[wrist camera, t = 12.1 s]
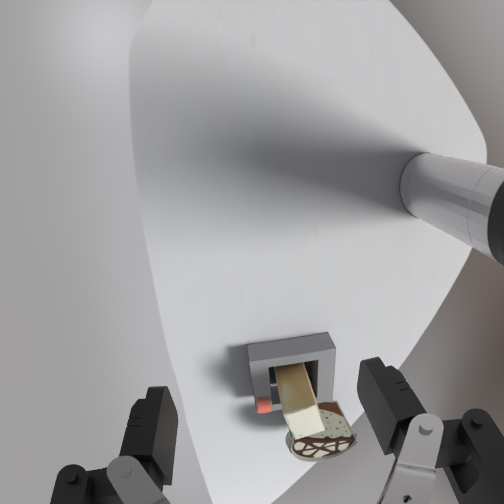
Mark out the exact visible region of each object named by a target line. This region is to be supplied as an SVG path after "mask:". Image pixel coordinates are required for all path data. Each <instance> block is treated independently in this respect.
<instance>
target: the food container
mask: <svg viewBox="0 0 504 504" xmlns="http://www.w3.org/2000/svg"><path fill="white" fill-rule="evenodd" d="M317 405H318V408H319V411H320V414H321V417H322V420H323V424H324V428H325V430H324V431H322V432H319V433H316V434H313V435H310V436H306V437H303V438H300V439H296V440H295V438H294V436H293V434H292V432H291V430H290V428H289V432H288V433H287V435H286V444H287V446H288V448H289V450H290V452H291V453H292V454H293V455H294V457H296V458H297V459H299V460H302V461H307V462H318V461H325V460H329V459H332V458H335V457H338V456H340V455H342V454H344V453H346V452H347V451H349V450H350V449H352V448H353V447H354V446H355V445H356V444H357V443H358V442H357V440H358V436H357V434H355V435H354V433H353V431H352V429H351V427H350V425H349V423H348V421H347V420H346V418H345V416H344V414H343V412H342V410H341V408H340V406H339V404H338V402H337V401H327V402H322V403H317Z"/></svg>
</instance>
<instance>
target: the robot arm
mask: <svg viewBox="0 0 504 504" xmlns="http://www.w3.org/2000/svg"><path fill="white" fill-rule="evenodd" d="M400 193H401V198H402V201H403V203H404V205H405V207H406V209H407V210H408V211H409V212H410V213H411V214H412V215H414V216H416V217H418V218H420V219H422V220H424V221H426V222H428V223H429V224H431V225H433V226H435V227H437V228H439V229H441V230H442V231H444V232H446V233H448V234H450V235H452V236H454V237H455V238H457V239H459V240H461V241H463V242H464V243H466V244H468V245H470V246H471V247H473V248H475V249H477V250H479V251H480V252H482V253H484V254H486V255H487V256H489V257H491V258H492V259H494V260H496V261H497V262H499V263H501V264H502V265H504V168H499V167H495V166H491V165H487V164H482V163H477V162H473V161H468V160H463V159H458V158H453V157H448V156H442V155H437V154H431V153H423V154H419V155H417V156H415V157H414V158H413V159H412V160H410V161H409V163H408V164H407V165H406V167H405V169H404V171H403V173H402V177H401V182H400ZM357 392H358V397H359V400H360V402H361V404H362V406H363V408H364V410H365V413H366V415H367V417H368V419H369V421H370V423H371V426H372V428H373V430H374V432H375V434H376V437H377V439H378V441H379V443H380V446H381V448H382V450H383V452H384V455H387V454H391V453H394V455H395V457H396V459H395V461H394V463H393V466H392V469H391V471H390V474H389V476H388V479H387V481H386V484H385V486H384V489H383V491H382V493H381V496H380V498H379V500H378V502H377V504H428V501H429V498H430V494H431V491H432V487H433V484H434V481H435V477H436V471H434V469H435V468H441V467H443V468H444V471H445V473H446V475H447V477H448V480H449V482H450V484H451V486H452V489H453V491H454V493H455V496H456V498H457V500H458V502H459V504H504V437H503V435H502V434H501V432H500V430H499V429H498V427H497V426H496V424H495V422H494V421H493V419H492V418H491V417H490V415H489V414H488V413H487V412H486V411H484V410H482V409H471V410H469V411H467V412H466V413H465V414H464V415H463V417H462V419H455V420H445V421H443V420H440V418H438V417H437V416H435V415H433V414H428V413H427V412H426V411H425V409H424V408H423V406H422V404H421V403H420V401H419V400H418V398H417V397H416V395H415V393H414V392H413V390H412V389H411V388H410V386H409V384H408V383H407V382H406V380H405V378H404V376H403V375H402V374H401V372H400V371H399V370H397V369H396V368H394V367H393V366H387V367H385V365H384V364H383V362H382V360H381V359H380V358H379V357H375V358H370V359H366V360H362V361H361V362H360V369H359V376H358V383H357ZM177 428H178V414H177V410H176V407H175V405H174V402H173V400H172V397H171V394H170V392H169V389H168V387H167V386H159V387H158V386H157V387H149V388H148V391H147V394H146V398H145V399H138V400H137V401H136V403H135V404H134V405H133V407H132V408H131V412H130V416H129V419H128V423H127V427H126V431H125V435H124V439H123V443H122V446H121V451H120V454H119V457H117V458H115V459H114V460H112V461H111V462H110V463H109V465H108V467H106V468H103V469H97V470H91V471H86V470H85V469H84V468H83V467H81V466H79V465H75V464H73V465H67V466H65V467H64V468H62V469H61V470H60V471H59V473H58V475H57V479H56V482H55V486H54V490H53V494H52V498H51V502H50V504H171V503H170V502H169V501H168V500H167V498H166V497H165V496H164V495H163V493H162V491H163V485H172V475H173V465H174V455H175V445H176V436H177Z"/></svg>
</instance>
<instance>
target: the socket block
mask: <svg viewBox="0 0 504 504" xmlns="http://www.w3.org/2000/svg"><path fill="white" fill-rule="evenodd" d="M247 347H248V356H249V364H250V371H251V378H252V385H253V391H254V398H255V405H256V411H257V413H258V414H260V413H267V412H271V411H276V410H282V406H281V401H280V396H279V391H278V386H276V387H270V378H269V368H268V367H275V366H282V365H289V364H295V363H301V362H307V361H312V381H310V383H311V386H312V389H313V392H314V395H315V399H316V402H317V403H322V402H327V401H332V397H333V385H334V371H335V356H336V347H335V345H334V343H333V341H332V339H331V337H330V335H329V333H328V332H326V333H321V334H315V335H309V336H303V337H296V338H290V339H283V340H276V341H269V342H261V343H254V344H247Z"/></svg>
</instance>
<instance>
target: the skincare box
mask: <svg viewBox="0 0 504 504" xmlns="http://www.w3.org/2000/svg"><path fill="white" fill-rule="evenodd" d="M274 370H275V375H276V380H277V385H278V391H279V396H280V401H281V406H282V411H283V416H284V418H285V420H286V422H287V424H288V426H289V428H290V430H291V432H292V434H293V436H294V438H295V440H296V439H300V438H303V437H306V436H310V435H313V434H316V433H319V432H322V431H324V430H325V428H324V424H323V420H322V417H321V414H320V411H319V408H318V405H317V402H316V399H315V395H314V392H313V389H312V386H311V383H310V380H309V377H308V373H307V370H306V367H305V364H304V362H301V363H295V364H289V365H282V366H275V367H274Z"/></svg>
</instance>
